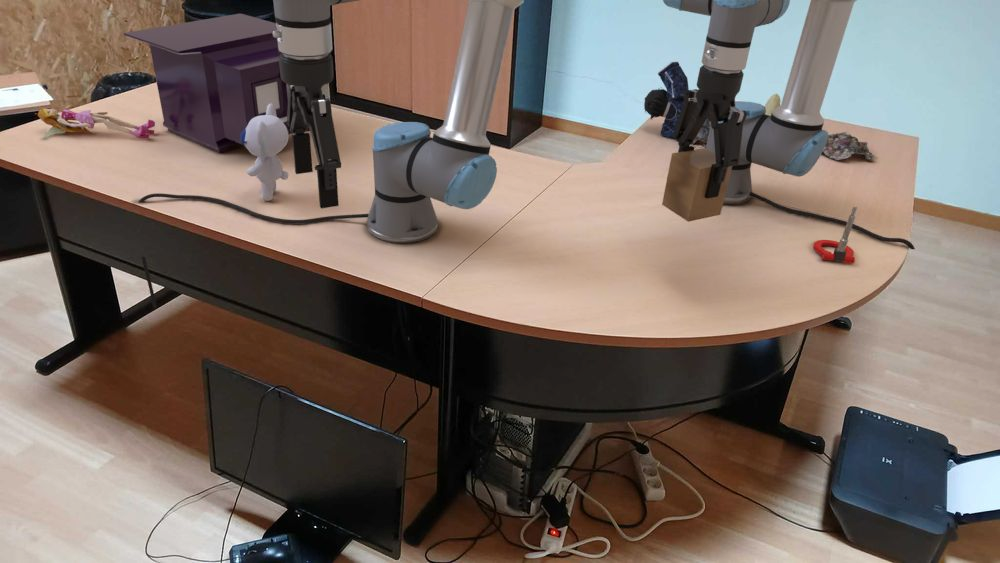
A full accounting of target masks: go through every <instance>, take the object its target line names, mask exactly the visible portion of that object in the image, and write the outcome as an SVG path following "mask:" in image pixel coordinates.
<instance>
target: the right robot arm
mask: <svg viewBox="0 0 1000 563" xmlns="http://www.w3.org/2000/svg"><path fill="white" fill-rule="evenodd" d="M857 1H858V0H810V2H809V6H808V10H807V13H806V16H805V19H804V23H803V27H802V30H801V35H800V37H799V41H798V43H797V48H796V51H795V54H794V58H793V62H792V65H791V68H790V73H789V75H788V79H787V83H786V85H785V90H784V93H783V95H782V100H781V102H780V106H779V107H777V108H776V109H774V110H773V111H772V113H771V116H769V115H766V114H765V113H766V109H765V105H763V104H762V103H758V102H754V101H740V100H739V101H736V96H737V95H738V94H739V93H740V91H741V87H742V83H743V79H744V76H745V74H744V71H743V70H745V69H746V67H747V63H748V58H749V53H750V49H751V45H752V41H753V37H754V32H755V29H756V28H757V27H761V26H766V25H769V24H772V23H774V22H776V21H777V20H779V19H780V18H781V17H783V16H784V14H785V13H787V10H788V8H789V6H790V4H791V3H790V2H791V0H662V2H663V3H664V5H666V6H667V7H669V8H672V9H675V10H678V11H679V12H681V11H683V12H688V13H692V14H698V15H703V16H708V17H710V19H709V22H708V28H707V34H706V38H705V43H704V47H703V51H702V52H703V53H702V58H701V64H702V65H701V66H700V67H699V71H698V76H697V80H696V88H694V89H689V90H686V91H685V92H684V103H683V106H682V109H681V112H680V115H679V118H678V121H677V124H676V127H675V130H674V133H673V138H672V140H674V141H675V140H676V141H677V145H678V146H679V147H678V151H677V153H678V152H684V151H690V150H695V146H693V145H695V143H694V142H693V141H694V139H695V137H696V136H697V134H698V133H699V131H700V129H701V128H702V126H703V124H704V123H705V121H706V120H707V119H708V120H709V121H710V122H711V126H710V131H709V136H708V140H707V142H706V145H705V149H707V150H709V151H711V152H713V153H715V157H716V164H712V166H711V171H710V175H709V180H708V184H707V188H706V193H705V198H707V199H708V198H713V197H718V195H719V191H720V186H721V183H722V182H724V180H725V176H726V172H727V168H728V167H730V166H732V169H731V173H730V177H729V182H728V186H727V190H726V194H725V198H724V202H723V205H726V206H727V205H729V206H734V205H742V204H745V203H747V202H749V201H750V199H751V197H752V198H754V199H756V200H759V201H761V202H763V203H765V204H767V205H769V206H772V207H773V208H776V209H778V210H781V211H785V212H787V213H791V214H795V215H800V216H804V217H809V218H812V219H813V218H814V219H818V220H822V221H826V222H831V223H835V224H839V225H842V226H845V227H846V224H847V221H846V220H843V219H839V218H835V217H832V216H831V217H830V216H826V215H822V214H817V213H814V212H813V213H812V212H809V211H806V210H805V211H804V210H799V209H796V208H791V207H788V206H785V205H781V204H779V203H776V202H775V201H772V200H771V199H768V198H766V197H765V196H764V197H763V196H762V195H759V194H757V193H755V192H753V186H752V174H751V167H752V164H755V165H758V166H761V167H764V168H767V169H769V170H770V169H771V170H773V171H776V172H779V173H782V174H783V175H790V176H794V177H798V178H799V177H803V176H806V175H807V174H808V173H809V172H810V171H812V169H813V168H814V167H815V164H816V163H818V161H819V159H820V157H821V156H822V154H823V150H824V148H825V145H826V143H827V140H828V135H829V132H828V131H827V130H825V129H823V127H824V124H825V119H824V118H823V116H822V114H821V109H822V106H823V103H824V99H825V97H826V93H827V90H828V87H829V85H830V81H831V78H832V74H833V71H834V69H835V68H834V67H835V65H836V62H837V58H838V56H839V52H840V50H841V45H842V43H843V40H844V36H845V33H846V31H847V30H846V29H847V27H848V23H849V20H850V18H851V14H852V11H853V8H854V4H855V3H856V2H857ZM697 88H698V89H697ZM680 132H681V133H680ZM723 158H724V159H723ZM851 229H853V230H856V231H858V232H860V233H862V234H864V235H866V236H868V237H871V238H873V239H876V240H879V241H881V242H886V243H901V244H904V245H906V246H907V247H908V248H909V249H910V250H915V249H916V248H915V246H914V244H913V243H912V242H911V241H909V240H908V239H905V238H901V237H887V236H882V235H879V234H877V233H875V232H872V231H871V230H868V229H866V228H863V227H861V226H860V225H857V224H855V223H853V225H852V228H851Z"/></svg>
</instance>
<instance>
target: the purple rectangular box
mask: <svg viewBox="0 0 1000 563" xmlns="http://www.w3.org/2000/svg"><path fill="white" fill-rule="evenodd" d="M273 31H277V27H276V22H272V21H269V20H264V19H262V18H259V17H256V16H255V17H254V16H252V15H247V14H244V13H235V14H230V15H224V16H217V17H212V18H205V19H200V20H194V21H188V22H181V23H175V24H169V25H163V26H157V27H151V28H146V29H145V28H144V29H139V30H134V31H128V32H123V36H125V37H127V38H130V39H133V40H136V41H138V42H142V43H145V44H148V45H149V50H150V54H151V60H152V66H153V71H154V75H155V76H154V77H155V82H156V87H157V92H158V97H159V102H160V107H161V113H162V118H163V122H162V126H163V127H165V128H166V129H167V131H168V132H170V133H172V134H175V135H177V136H179V137H182V138H184V139H187V140H189V141H191V142H193V143H196V144H197V145H200V146H203V147H205V148H207V149H209V150H212V151H215V152H217V153H219V154H220V153H224V152H227V151H229V150H233V149H235V148H237V144H240V145H242V146H244V145H243V143H241V139H240V136H241V132H242V131H243V130H244V129H246V127H247V125H248V123H249V122H250V120H251V119H252V118H254V117H257V116H261V115H266V110H267V106H268V104H270V103H271V104H273V105H274V107H275V110H276V116H277V117H278V118H279V119H280V120H281V121H282V122H283V123H284V124H285V126H286V128H287V131H288V136H289V135H294V133H291V131H290V126H288V124H287V109H288V89H289V87H288V84H287V83H285V82H283V81H282V79H281V75H280V65H279V56H280V54H281V52H280V51H279V50H278V40H277V38H274V37H273Z"/></svg>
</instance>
